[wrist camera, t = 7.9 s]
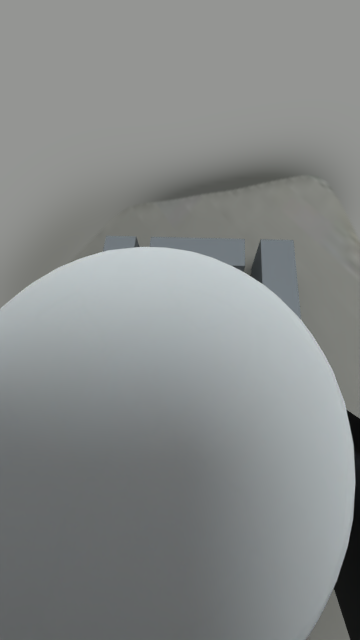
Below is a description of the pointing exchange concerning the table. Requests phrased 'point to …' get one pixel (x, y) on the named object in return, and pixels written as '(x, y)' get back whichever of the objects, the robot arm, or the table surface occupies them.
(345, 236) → the table surface
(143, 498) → the supplement bottle
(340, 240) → the table surface
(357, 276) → the table surface
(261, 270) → the cup holder
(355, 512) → the robot arm
